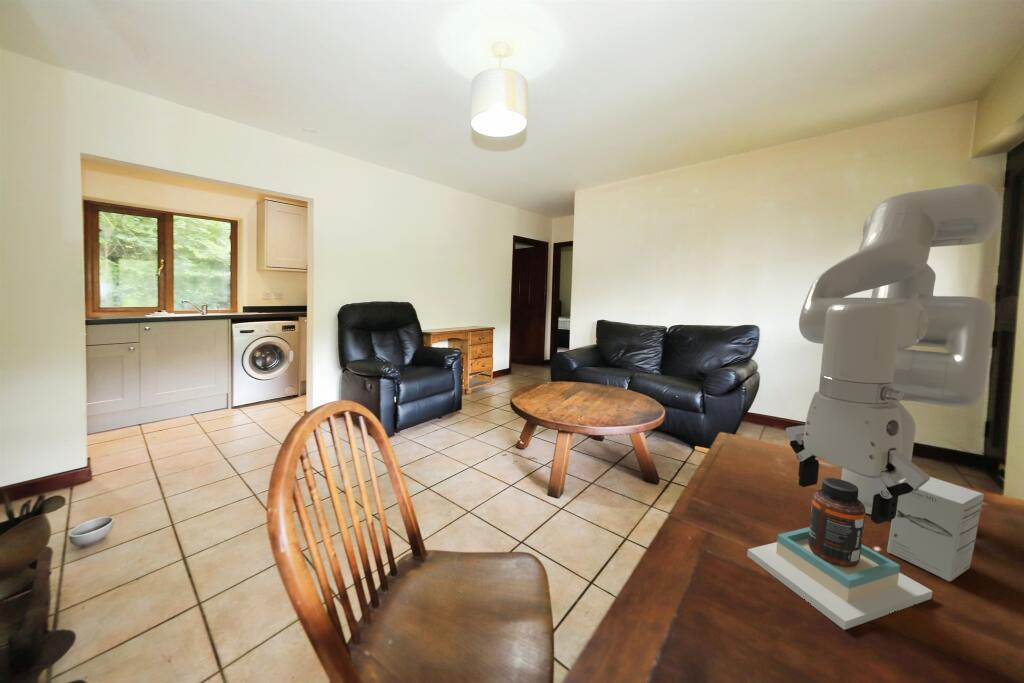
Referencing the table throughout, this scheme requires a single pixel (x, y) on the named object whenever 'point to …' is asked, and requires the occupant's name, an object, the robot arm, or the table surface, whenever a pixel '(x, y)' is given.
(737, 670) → the table surface
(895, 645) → the table surface
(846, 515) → the supplement bottle
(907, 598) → the teal framed tray
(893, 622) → the table surface
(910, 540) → the supplement box
